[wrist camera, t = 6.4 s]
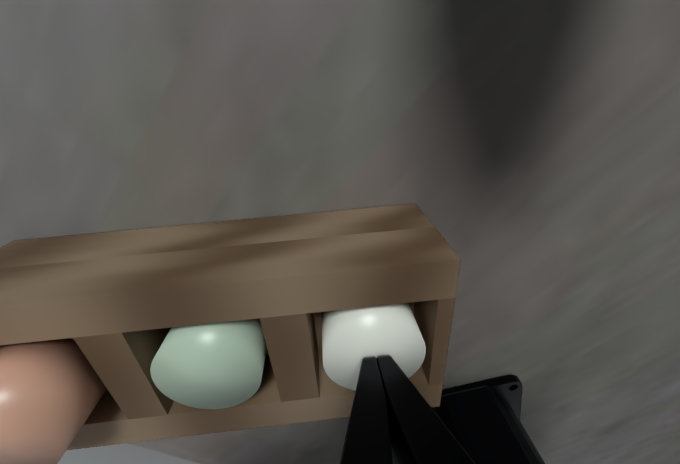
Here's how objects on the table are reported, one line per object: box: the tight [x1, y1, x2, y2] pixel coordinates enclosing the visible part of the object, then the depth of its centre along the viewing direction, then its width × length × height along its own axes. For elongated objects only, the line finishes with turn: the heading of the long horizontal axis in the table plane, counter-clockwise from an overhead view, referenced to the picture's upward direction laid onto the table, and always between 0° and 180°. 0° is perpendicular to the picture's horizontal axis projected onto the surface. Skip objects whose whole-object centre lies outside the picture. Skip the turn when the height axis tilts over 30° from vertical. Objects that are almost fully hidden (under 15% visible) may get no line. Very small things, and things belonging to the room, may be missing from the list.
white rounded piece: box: [321, 303, 426, 391], centre depth 10 cm, size 3×3×2 cm
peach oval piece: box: [0, 338, 107, 464], centre depth 9 cm, size 3×3×2 cm
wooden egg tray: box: [0, 204, 461, 450], centre depth 11 cm, size 15×6×4 cm, turn 94°
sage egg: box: [150, 318, 267, 409], centre depth 10 cm, size 3×3×2 cm
